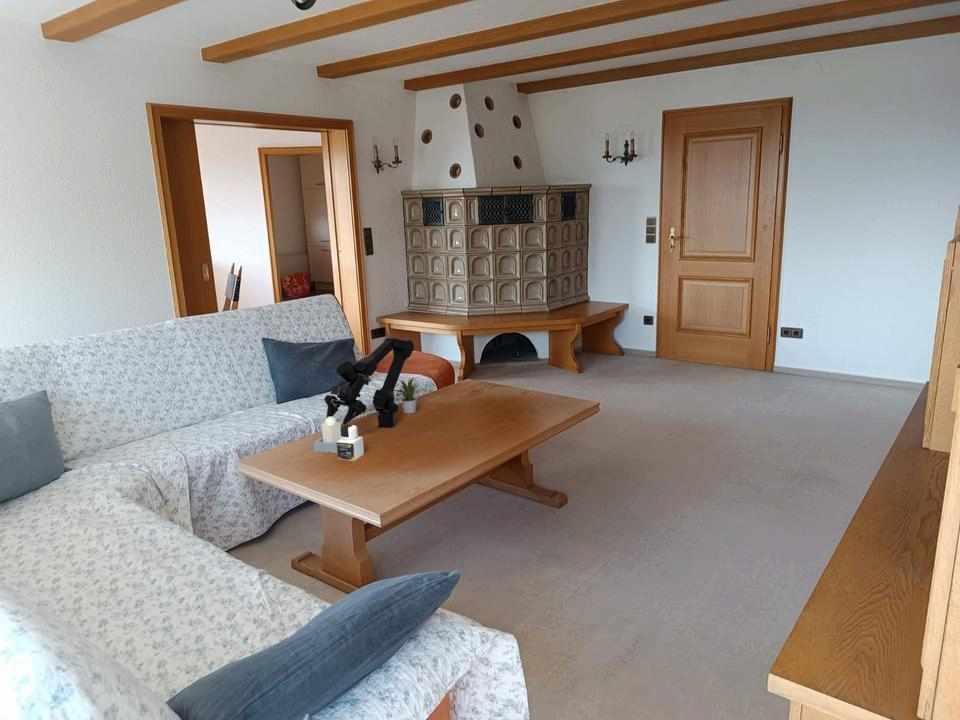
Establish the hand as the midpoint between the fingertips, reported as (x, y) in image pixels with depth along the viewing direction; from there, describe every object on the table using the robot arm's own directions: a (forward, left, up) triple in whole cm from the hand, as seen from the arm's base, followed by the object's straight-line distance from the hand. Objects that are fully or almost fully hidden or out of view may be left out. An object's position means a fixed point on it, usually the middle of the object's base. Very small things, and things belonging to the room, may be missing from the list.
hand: (335, 422), depth 255 cm
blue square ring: (+1, +2, -9) cm, 10 cm away
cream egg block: (+1, +2, -10) cm, 10 cm away
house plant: (-13, -47, -10) cm, 50 cm away
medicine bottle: (-11, +11, -10) cm, 18 cm away
